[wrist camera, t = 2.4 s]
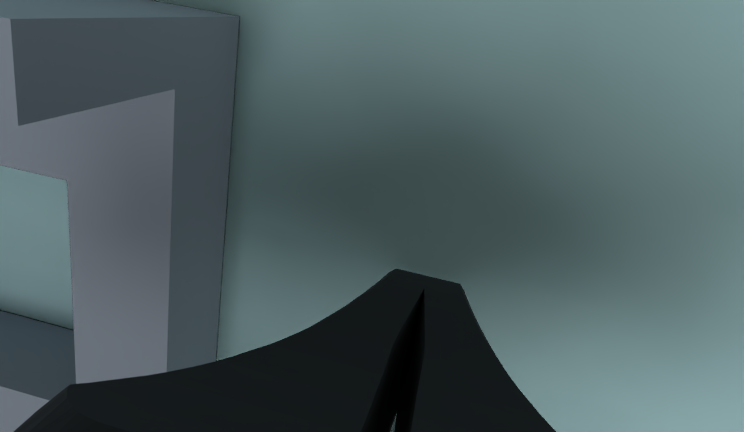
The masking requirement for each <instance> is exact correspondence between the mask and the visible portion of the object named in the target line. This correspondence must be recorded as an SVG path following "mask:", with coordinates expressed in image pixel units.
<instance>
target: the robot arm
mask: <svg viewBox="0 0 744 432" xmlns="http://www.w3.org/2000/svg"><path fill="white" fill-rule="evenodd" d="M396 413H397V415H396ZM395 416H396V423H395V432H556V431H555V430H554V429H553V428H552V427H551V426H550V425H549V424H548V423H547V422H546V420H545V419H544V418H543V417H542V416H541V415H540V414H539V413H538V412H537V410H536V409H535V408H534V407H533V405H532V404H531V403H530V402H529V401H528V399H527V398H526V397H525V396H524V395H523V393H522V392H521V391H520V390H519V389H518V387H517V386H516V385H515V383H514V382H513V381H512V379H511V378H510V377H509V375H508V374H507V372H506V371H505V369H504V368H503V366H502V365H501V363H500V361H499V360H498V358H497V357H496V355H495V353H494V352H493V350H492V348H491V346H490V345H489V343H488V341H487V339H486V337H485V335H484V334H483V332H482V330H481V328H480V326H479V324H478V322H477V320H476V318H475V316H474V314H473V311H472V309H471V307H470V305H469V302H468V300H467V297H466V294H465V292H464V290H463V288H462V286H461V285H460V284H458V283H454V282H450V281H446V280H442V279H437V278H433V277H429V276H425V275H420V274H416V273H412V272H408V271H404V270H399V269H395V270H393V271H391V272H389V273H388V274H387V275H386V276H385V277H383V278H382V279H381V280H380V281H379V282H377V283H376V284H375V285H374V286H372V287H371V288H370V289H368V290H367V291H366V292H365V293H363V294H362V295H360V296H359V297H357V298H356V299H355V300H353V301H352V302H350V303H349V304H347V305H346V306H345V307H343V308H341V309H340V310H338V311H337V312H335V313H333V314H332V315H330V316H328V317H326V318H325V319H323V320H321V321H320V322H318V323H316V324H315V325H313V326H311V327H309V328H307V329H305V330H303V331H301V332H299V333H296V334H294V335H292V336H289V337H287V338H285V339H282V340H280V341H277V342H275V343H272V344H270V345H267V346H263V347H260V348H257V349H254V350H251V351H248V352H245V353H242V354H239V355H236V356H233V357H229V358H226V359H223V360H219V361H215V362H211V363H207V364H203V365H198V366H194V367H189V368H184V369H179V370H174V371H169V372H164V373H158V374H152V375H146V376H138V377H130V378H122V379H114V380H106V381H98V382H90V383H80V384H70V385H69V386H67V387H66V388H65V389H63V390H62V391H61V392H60V393H58V394H57V395H56V396H55V397H53V398H52V399H51V400H50V401H48V402H47V403H46V404H45V405H44V406H42V407H41V408H40V409H39V410H37V411H36V412H35V413H34V414H33V415H32V416H30V417H29V418H28V419H27V420H26V421H25V422H24V423H23V424H21V425H20V426H19V427H18V428H17V429H16V430H15V431H14V432H390V430H391V427H392V424H393V421H394V419H395Z"/></svg>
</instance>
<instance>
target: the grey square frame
mask: <svg viewBox="0 0 744 432" xmlns="http://www.w3.org/2000/svg"><path fill="white" fill-rule="evenodd" d="M238 31H239V16H233V15H228V14H222V13H217V12H212V11H206V10H201V9H195V8H190V7H185V6H179V5H174V4H168V3H163V2H157V1H152V0H0V165H2V166H6V167H10V168H15V169H19V170H23V171H27V172H32V173H36V174H40V175H44V176H49V177H53V178H57V179H61V180H66V181H67V186H68V209H69V232H70V255H71V278H72V301H73V324H74V331H73V330H69V329H66V328H62V327H58V326H55V325H51V324H47V323H44V322H40V321H36V320H33V319H29V318H25V317H22V316H18V315H14V314H11V313H7V312H3V311H0V432H14V431H15V430H16V429H17V428H18V427H19V426H20V425H21V424H23V423H24V422H25V421H26V420H27V419H28V418H29V417H30V416H32V415H33V414H34V413H35V412H36V411H37V410H39V409H40V408H41V407H42V406H44V405H45V404H46V403H47V402H48V401H50V400H51V399H52V398H53V397H55V396H56V395H57V394H58V393H60V392H61V391H62V390H63V389H65V388H66V387H67V386H69V385H70V384H80V383H90V382H98V381H106V380H114V379H122V378H130V377H138V376H146V375H152V374H158V373H164V372H169V371H174V370H179V369H184V368H189V367H194V366H198V365H203V364H207V363H211V362H215V361H216V352H217V337H218V323H219V308H220V294H221V279H222V264H223V250H224V235H225V221H226V206H227V192H228V177H229V162H230V148H231V133H232V119H233V104H234V90H235V75H236V61H237V46H238Z"/></svg>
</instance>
